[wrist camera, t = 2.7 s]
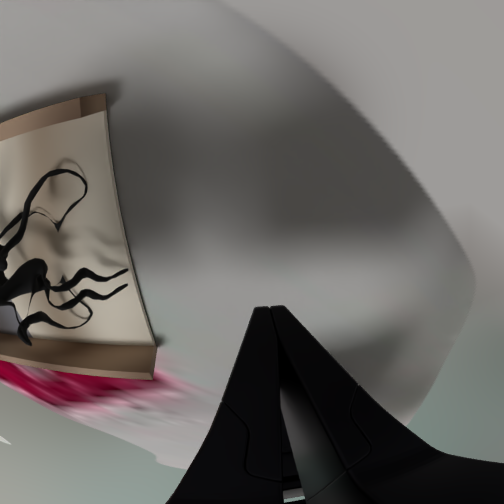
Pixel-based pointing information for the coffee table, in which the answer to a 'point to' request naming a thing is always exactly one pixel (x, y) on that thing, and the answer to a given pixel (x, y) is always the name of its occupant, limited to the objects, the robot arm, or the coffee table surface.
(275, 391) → the robot arm
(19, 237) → the creature
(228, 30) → the coffee table surface
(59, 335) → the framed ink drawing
